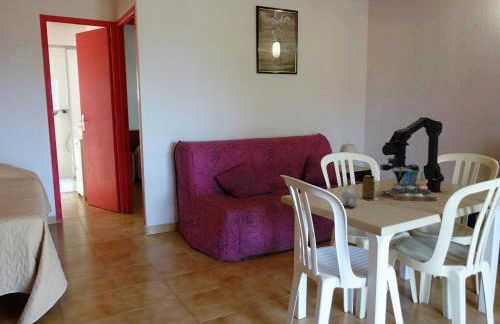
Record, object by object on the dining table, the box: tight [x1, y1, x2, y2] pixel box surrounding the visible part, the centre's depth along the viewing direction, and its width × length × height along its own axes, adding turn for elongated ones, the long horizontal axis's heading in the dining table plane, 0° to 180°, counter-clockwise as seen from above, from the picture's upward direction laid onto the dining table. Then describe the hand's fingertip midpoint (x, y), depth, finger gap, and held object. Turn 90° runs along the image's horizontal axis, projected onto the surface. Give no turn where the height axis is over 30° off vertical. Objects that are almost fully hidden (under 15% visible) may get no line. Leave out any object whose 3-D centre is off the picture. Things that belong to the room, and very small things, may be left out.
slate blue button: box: [393, 184, 403, 190], centre depth 212 cm, size 4×4×2 cm
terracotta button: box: [418, 185, 428, 190], centre depth 211 cm, size 4×4×2 cm
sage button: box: [406, 185, 416, 190], centre depth 212 cm, size 4×4×2 cm
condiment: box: [358, 174, 379, 201], centre depth 207 cm, size 7×8×12 cm
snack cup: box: [395, 169, 424, 187], centre depth 241 cm, size 16×10×10 cm
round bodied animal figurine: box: [340, 188, 358, 208], centre depth 192 cm, size 7×12×8 cm, turn 145°
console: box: [388, 187, 438, 202], centre depth 209 cm, size 20×14×4 cm
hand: (398, 183), depth 212 cm, fingers closed
